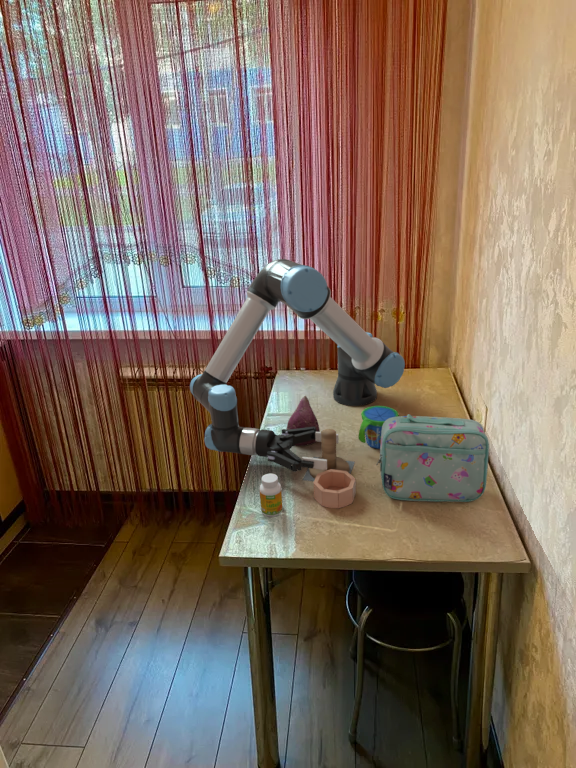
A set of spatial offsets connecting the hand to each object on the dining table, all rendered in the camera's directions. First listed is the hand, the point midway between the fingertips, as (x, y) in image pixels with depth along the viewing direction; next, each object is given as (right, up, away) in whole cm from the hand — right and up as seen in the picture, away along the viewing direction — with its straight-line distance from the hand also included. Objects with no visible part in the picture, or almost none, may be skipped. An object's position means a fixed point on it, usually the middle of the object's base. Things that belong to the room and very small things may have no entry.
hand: (332, 451), depth 150 cm
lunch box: (+24, -10, -7) cm, 27 cm away
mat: (-1, -6, +3) cm, 7 cm away
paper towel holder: (-1, -6, +3) cm, 7 cm away
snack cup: (+15, 0, +16) cm, 22 cm away
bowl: (0, -11, -7) cm, 13 cm away
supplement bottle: (-16, -14, -11) cm, 24 cm away
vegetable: (-7, +1, +21) cm, 22 cm away
